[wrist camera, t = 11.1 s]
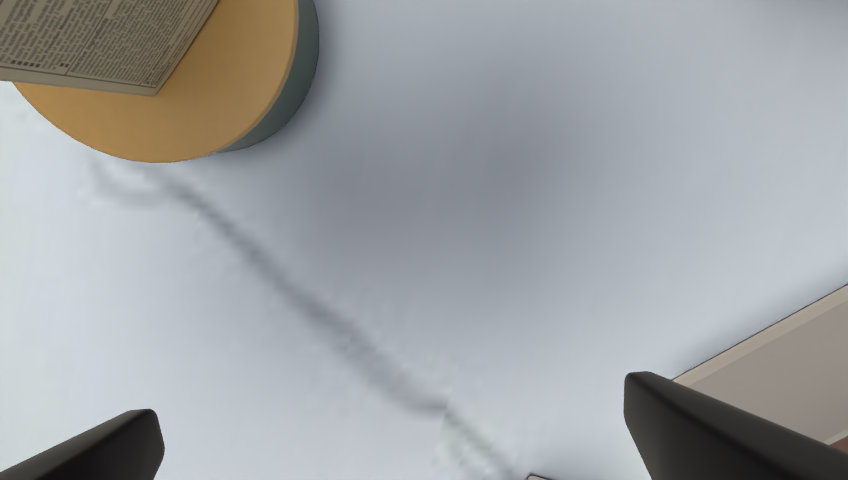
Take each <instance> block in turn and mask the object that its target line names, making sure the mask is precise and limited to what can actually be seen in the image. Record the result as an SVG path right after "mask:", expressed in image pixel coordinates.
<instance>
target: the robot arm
mask: <svg viewBox="0 0 848 480" xmlns="http://www.w3.org/2000/svg"><path fill="white" fill-rule="evenodd" d="M624 418H625V422H626V425H627V427H628V429H629V431H630V434H631V436H632V438H633V440H634V442H635V444H636V446H637V448H638V451H639V453H640V455H641V457H642V459H643V461H644V463H645V466H646V468H647V470H648V472H649V474H650V476H651V478H652V480H848V453H847V452H844V451H842V450H839V449H837V448H835V447H832V446H830V445H827V444H825V443H822V442H820V441H817V440H815V439H813V438H810V437H808V436H805V435H803V434H800V433H798V432H796V431H793V430H791V429H788V428H786V427H783V426H781V425H779V424H776V423H774V422H771V421H769V420H766V419H764V418H761V417H759V416H757V415H754V414H752V413H749V412H747V411H744V410H742V409H740V408H737V407H735V406H732V405H730V404H727V403H725V402H722V401H720V400H718V399H715V398H713V397H710V396H708V395H705V394H703V393H701V392H698V391H696V390H693V389H691V388H688V387H686V386H684V385H681V384H679V383H676V382H674V381H671V380H669V379H666V378H664V377H662V376H659V375H657V374H654V373H652V372H647V371H645V372H632V373H628V374H627V375H626V377H625V383H624ZM164 451H165V447H164V441H163V437H162V433H161V429H160V425H159V421H158V417H157V414H156V413H155V411H153V410H151V409H140V410H130V411H127V412H125V413H123V414H121V415H119V416H117V417H115V418H113V419H110V420H108V421H106V422H104V423H102V424H100V425H98V426H96V427H94V428H92V429H90V430H87V431H85V432H83V433H81V434H79V435H77V436H75V437H73V438H71V439H69V440H67V441H65V442H62V443H60V444H58V445H56V446H54V447H52V448H50V449H48V450H46V451H44V452H42V453H39V454H37V455H35V456H33V457H31V458H29V459H27V460H25V461H23V462H21V463H19V464H17V465H14V466H12V467H10V468H8V469H6V470H4V471H2V472H0V480H153V479H154V477H155V475H156V473H157V471H158V468H159V466H160V464H161V462H162V460H163V456H164Z"/></svg>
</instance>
